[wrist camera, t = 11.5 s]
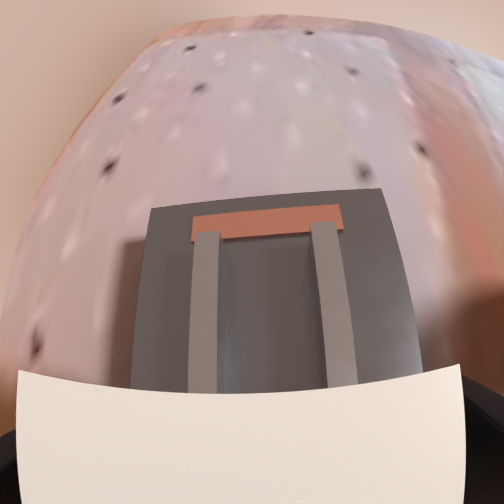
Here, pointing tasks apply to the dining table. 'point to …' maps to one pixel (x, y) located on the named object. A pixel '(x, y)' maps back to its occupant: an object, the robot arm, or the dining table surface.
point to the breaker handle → (243, 444)
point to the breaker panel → (273, 296)
